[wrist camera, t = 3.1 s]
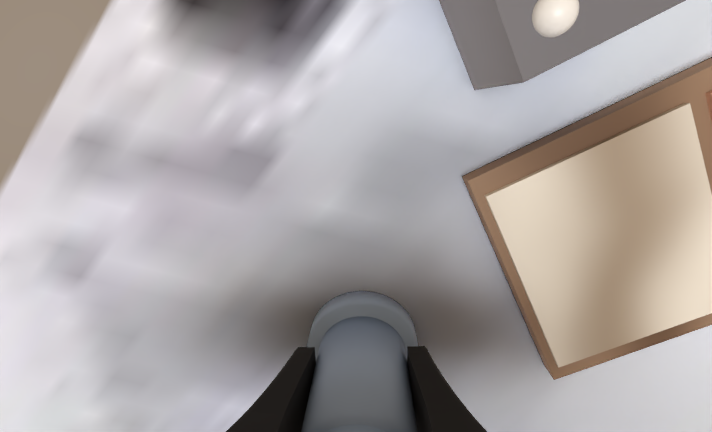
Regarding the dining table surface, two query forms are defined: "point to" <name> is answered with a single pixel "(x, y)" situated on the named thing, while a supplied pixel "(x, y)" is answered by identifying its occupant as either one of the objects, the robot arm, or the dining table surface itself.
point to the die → (536, 33)
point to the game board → (609, 225)
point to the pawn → (361, 366)
